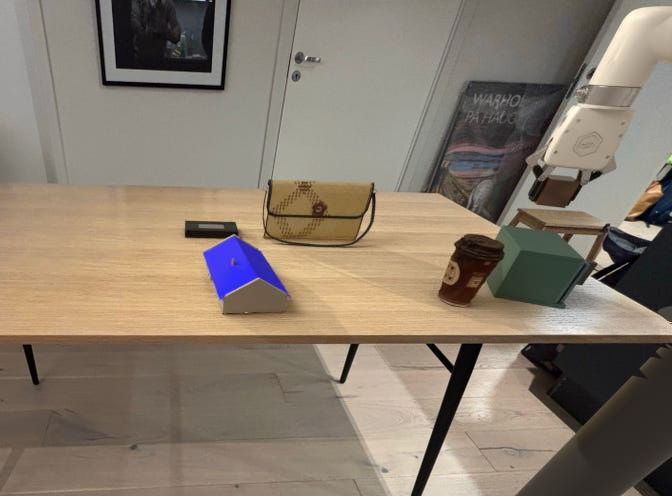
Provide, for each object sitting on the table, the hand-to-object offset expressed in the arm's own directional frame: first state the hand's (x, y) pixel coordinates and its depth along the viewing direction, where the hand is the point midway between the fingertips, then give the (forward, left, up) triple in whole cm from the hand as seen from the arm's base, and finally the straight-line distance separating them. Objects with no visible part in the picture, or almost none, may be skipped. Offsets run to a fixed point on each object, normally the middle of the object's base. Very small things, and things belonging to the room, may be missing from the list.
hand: (548, 201), depth 82 cm
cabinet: (-2, +5, -17) cm, 18 cm away
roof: (+57, +31, -17) cm, 67 cm away
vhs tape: (+73, +4, -17) cm, 75 cm away
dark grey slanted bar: (-9, +8, -16) cm, 20 cm away
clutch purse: (+46, -2, -17) cm, 49 cm away
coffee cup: (+14, +18, -17) cm, 29 cm away
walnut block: (0, 0, 0) cm, 0 cm away
